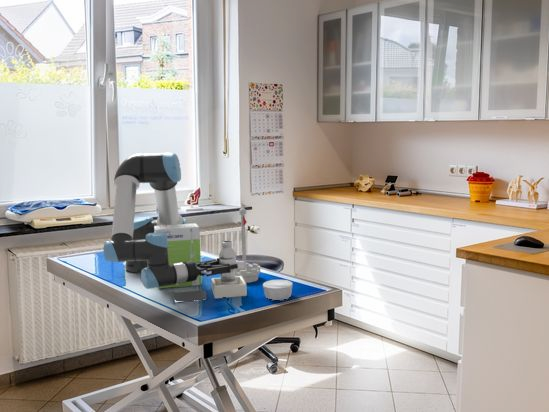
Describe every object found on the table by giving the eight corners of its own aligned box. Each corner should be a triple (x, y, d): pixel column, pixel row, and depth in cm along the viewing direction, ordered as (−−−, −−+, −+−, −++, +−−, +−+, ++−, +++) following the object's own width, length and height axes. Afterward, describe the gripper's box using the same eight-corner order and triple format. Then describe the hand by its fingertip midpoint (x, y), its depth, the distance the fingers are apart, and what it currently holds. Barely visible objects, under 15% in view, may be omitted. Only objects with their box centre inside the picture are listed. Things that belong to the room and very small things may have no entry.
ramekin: (270, 303, 210) (269, 289, 210) (258, 295, 220) (258, 281, 220) (298, 299, 215) (297, 285, 214) (285, 291, 225) (285, 277, 224)
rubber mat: (174, 302, 214) (174, 301, 214) (173, 293, 225) (173, 292, 225) (207, 300, 216) (207, 298, 216) (204, 290, 228) (204, 289, 228)
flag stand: (225, 277, 247) (222, 207, 243) (254, 273, 251) (252, 204, 247) (234, 285, 235) (231, 211, 231) (264, 281, 239) (262, 208, 235)
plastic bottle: (220, 290, 228) (217, 240, 225) (237, 289, 228) (235, 239, 225) (220, 295, 221) (217, 243, 219) (237, 294, 222) (235, 242, 219)
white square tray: (215, 298, 218) (214, 286, 217) (211, 289, 229) (211, 278, 229) (246, 295, 220) (246, 284, 220) (241, 286, 232) (241, 275, 231)
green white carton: (198, 278, 246) (196, 222, 242) (202, 285, 236) (199, 226, 232) (156, 282, 241) (153, 225, 238) (158, 289, 231) (154, 229, 228)
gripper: (174, 276, 222) (228, 267, 234) (195, 288, 206) (252, 277, 218) (173, 257, 221) (227, 248, 233) (194, 267, 205) (251, 257, 217)
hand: (239, 262), depth 226 cm, fingers closed on plastic bottle, 6 cm apart
